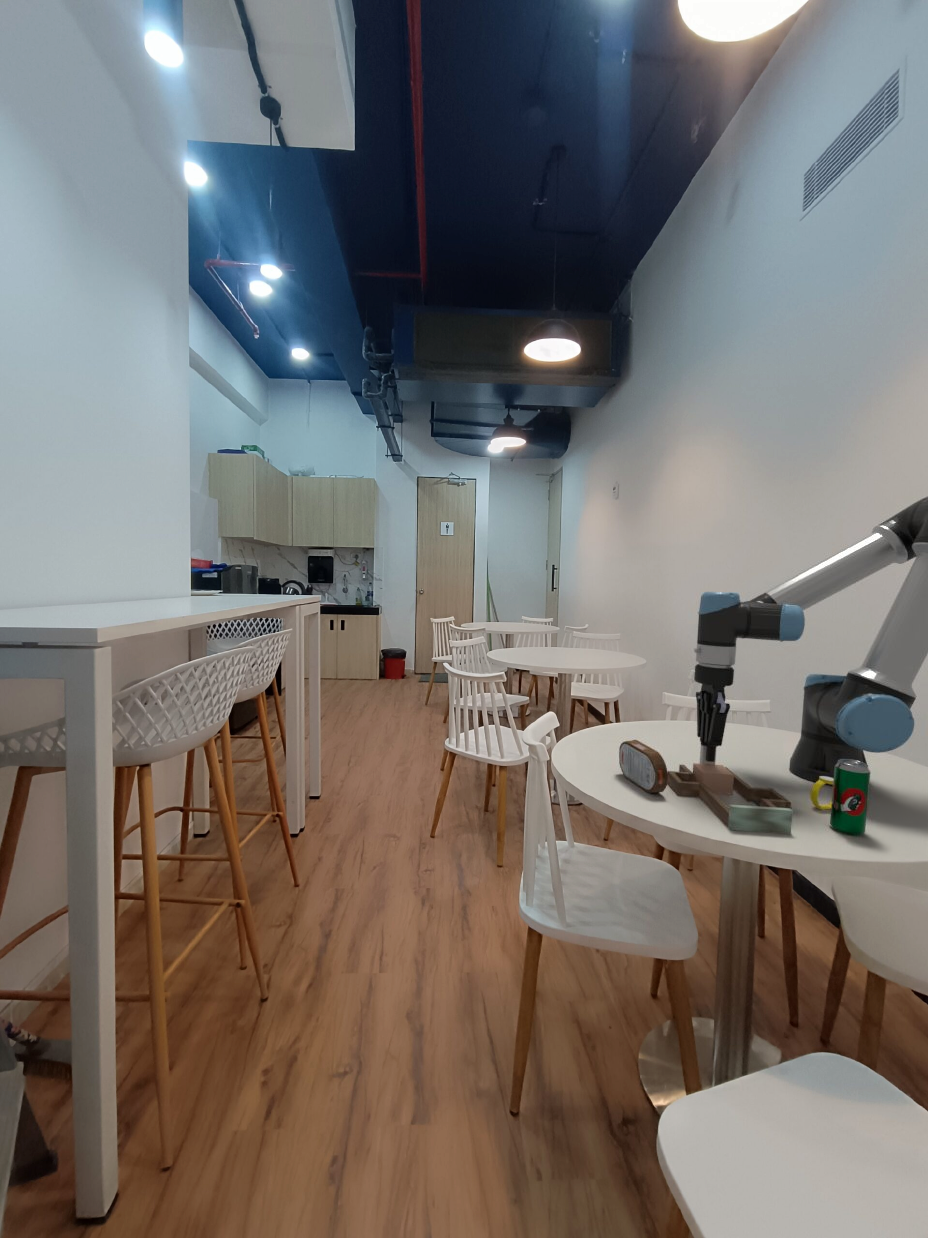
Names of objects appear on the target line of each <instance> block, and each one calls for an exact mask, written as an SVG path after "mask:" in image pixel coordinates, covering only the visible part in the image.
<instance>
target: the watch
mask: <svg viewBox="0 0 928 1238" xmlns="http://www.w3.org/2000/svg"><path fill="white" fill-rule="evenodd" d="M833 781H834V778H831V777H826V776H820V777H819V780H818V781H817V782H815V783H814V784H813V786H812V787H811V790H810V795H809V796H810V801H811V804H812V805H813V806H814V807H816V808H817V809H819V810H820V811H821V810H822V811H825V810H831V804H832V800H831V801H830V802H828V804H823V805H822V804H821V805H820V804H819V800H818V797H819V792H820V791H821V789H822V787H824V785H829V784H833ZM826 783H827V784H826Z"/></svg>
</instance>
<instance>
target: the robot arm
mask: <svg viewBox="0 0 928 1238" xmlns="http://www.w3.org/2000/svg"><path fill="white" fill-rule="evenodd" d="M912 559H915V560H914V561H913V563H912V565H911V566H910V569H909V571H908V573H907V575H906V577H905V579H904V581H903V583H902V585H901V587H900V588H899V591H898V593H897V595H896V597H895V599H894V600H893V602H892V605H891V607H890V609H889V610H888V613H887V615H886V617H885V619H884V620H883V622H882V625H881V627H880V629H879V631H878V633H877V634H876V637H875V639H874V640H873V643H872V644H871V646H870V648H869V651H868V652H867V654H866V656H865V658H864V660H863V662H862V664H861V666H859V667H857V668H855V669H854V668H853V669H851V670H849V671H848V672H847V674H846V675H838V674H837V675H835V674H821V673H811V674H809V675H807V676H806V678H805V682H804V686H803V702H802V703H803V704H802V716H801V717H802V718H801V730H800V731H801V732H800V738H799V740H798V742H797V744H796V746H795V748H794V751H793V753H792V755H791V757H790V759H789V771H790V772H791V773H793V774H794V775H796V776H798V777H800V778H803V779H806V780H809V781H812V782H815V783H816V782H817V781H818V780H819V777H820V776H826V777H831V778H834V769H835V765H836V764H837V763H838V760H839V759H851V760H856V761H860V762H863V763H866V764H867V765H868V763H867V759H866V756H865V753H864V752H868V753H873V754H874V753H875V754H876V753H877V754H879V753H881V754H882V753H887V752H890V751H893V750H897V749H898V748H901V746H903V745H904V744H905V743H907V741H908V740H910V738H911V736H912V735H913V733H914V729H915V718H914V717H913V713H912V711H911V708H912V706H914V705H913V704H914V703H915V700H916V699H917V695H916V692H915V691H914V689H913V683H914V681H915V680H916V677H917V676H918V673H919V672H920V670H921V668H922V666H923V663H925V660H926V657H927V656H928V496H926V497H922V498H920V499H919V500H917V501H916V502H914V503H912V504H910V505H909V506H907V507H905V508H904V509H902V510H901V511H899V512H898V513H896V514H894V515H892V516H891V517H889V518H888V519H886V520H884V521H883V522H881V523H879V524H877V525H875V526H874V527H873V528H872V530H871V534H869V535H867V536H866V537H863V538H862V539H860V540H858V541H856V542H854V543H852V544H851V545H849V546H847V547H845V548H844V549H842V550H840V551H838V552H836V553H835V554H832V555H831V556H829V557H827V558H825V559H824V560H822V561H820V562H818V563H816V564H814V565H813V566H811V567H809V568H807V569H805V570H803V571H802V572H799V573H798V574H796V575H794V576H792V577H791V578H788V579H787V580H785V581H783V582H781V583H779V584H777V585H776V586H774V587H773V588H770V589H768V590H767V591H764V592H763V593H762V594H760V595H758V596H755V597H754V598H752V599H750V600H746V601H741V598H740V594H739V593H738V592H726V591H725V592H724V591H704V592H703V593H702V595H701V596H700V600H699V601H700V602H699V611H698V613H697V614H698V619H697V620H698V623H697V637H696V639H697V640H696V648H694V650H693V651H694V653H696V654H695V661H696V665H695V666H694V675H693V677H694V681H695V682H696V683H698V684H701V688H700V691H696V693H695V698H696V710H697V711H696V725H697V726H696V731H697V732H696V733H697V734H696V736H697V738H699V742H700V752H699V754H700V755H699V764H712V765H716V759H717V748H718V747H722V745H723V741H724V740H723V739H724V736H725V735H724V734H725V729H726V723H727V719H728V714H729V712H730V709H731V704H730V703H726V694H725V687H730V686H732V685H734V678H735V669H734V668H733V666H735V664H736V653H737V639H749V640H751V639H752V640H761V641H762V640H764V641H778V642H781V643H782V642H796V641H798V640H799V639H801V638H802V637H803V633H804V630H805V625H806V623H805V622H806V620H805V619H806V618H805V614H804V611H805V610H806V609H808V608H811V607H812V606H814V605H817V604H819V603H820V602H823V601H824V600H826V599H827V598H830V597H832V596H833V595H835V594H837V593H839V592H842V591H843V590H845V589H846V588H847V589H848V588H849V587H851V586H852V585H855V584H856V583H858V582H860V581H862V580H863V579H865V578H868V577H869V576H871V575H873V574H875V573H877V572H879V571H881V570H882V569H884V568H887V567H888V566H890V565H892V564H898V565H902V564H903V565H904V563H906V562H908V561H911V560H912ZM825 785H828V786H829V785H830V786H833V784H827V783H826V784H825Z"/></svg>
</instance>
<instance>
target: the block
mask: <svg viewBox="0 0 928 1238" xmlns="http://www.w3.org/2000/svg"><path fill="white" fill-rule="evenodd" d="M725 767H726V766H724V765H723V764H715V765H712V764H700V763H695V762H694V763H692V773H693V774H694V779H693V782H701V783H704V784H705V785H706V786H707V787H708V788H709V789H710V790H711V791H712V792H713V793H714V794H725V795H734V794H733V792H734V789H733V781H734V774H735V773H734V774H732V773H731V772H730V771H729V770H730V769H729V768H728V769H729V770H728V769H726V768H725Z"/></svg>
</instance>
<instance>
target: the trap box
mask: <svg viewBox="0 0 928 1238" xmlns="http://www.w3.org/2000/svg"><path fill="white" fill-rule="evenodd" d="M724 767H725V768H726V769H728V770H729V771H730V772H731V773H732V774H734V781H733V791H735V792H736V793H737V794H739V796H741V797H742V798H743V799H744V800H745V801H747V802H751V803H754V804H755V805H744V804H743V805H739V804H729V806H728V805H727V804H726V803H725V802H724V801H722V799H720V798H719V796H717V794H716V793H713V792H712V791H711V790H710V789H709V788H708V787H707V786H706V785H705V784H704V783H701V782H693V779H694V774H693V771H692V770H690V768H689V767H687V766H686V765H685V764H678V771H672V770H667V772H668V783H667V785H668V786H669V787H670V788H671V789H672V790H673V792H675V794H677V796H684V797H686V796H687V797H699V798H700V800H701V801H703V803H704V804H705V805H706V806H707V808H709V809H710V810H711V811H712V812H713V813H714V814H715V816H716V817H718V819H720V821H721V822H722V823H723V824H724V825H725V826H726V827H727V828H728V829H729V830H730V831H739V832H740V831H742V832H756V833H757V832H759V833H761V832H762V833H774V834H787V835H789V834H790V835H791V834H792V827H793V826H792V823H793V811H794V810H793V809H792V802H791V801H790V800H789V799H788V798H786V797H785V796H784V795H782V794H781V793H780V792H778V791H777V790H775V789H774V788H773V787H772V788H769V787H755V786H751V785H749V784H748V783H747V782H746V781H744V780H743V778H741V777H740V776H738V775H737V774H735V772H733V771H732V770H730V768H728V767H727V766H724Z"/></svg>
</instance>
